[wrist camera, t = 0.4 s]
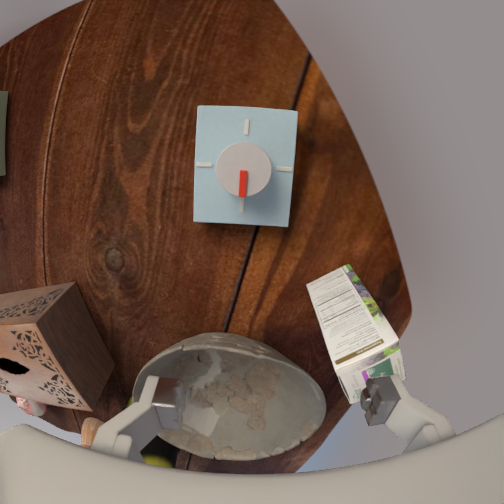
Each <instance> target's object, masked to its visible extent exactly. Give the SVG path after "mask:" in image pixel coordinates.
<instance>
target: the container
mask: <svg viewBox="0 0 504 504" xmlns="http://www.w3.org/2000/svg"><path fill="white" fill-rule="evenodd" d="M132 404H133V400H132V396H131V397H130V398H129V399H128V402H127V404H126V406H125V408H124V409H123V410H125V409H126V408H128V407H129V406H130V405H132ZM179 451H180V448H178V447H176V446H174V445H172V444H170V443H169V442H167V441H165V440H163V439H162V438H160V437H159V436H158V435H156V436H155V437H154V438H153V439H152V440H151V441H150V442H149V443H148V444H147V445H146V446H145V447H144V448H143V449H142V450H141V451H140V454H141V455H142V457H143V459H144V461H145V462H146V464H150V465H156V466H161V467H167V468H174V469H175V465H176V459H177V453H178V452H179Z"/></svg>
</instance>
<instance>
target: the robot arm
mask: <svg viewBox="0 0 504 504" xmlns="http://www.w3.org/2000/svg"><path fill="white" fill-rule="evenodd" d="M365 384H366V388H364V389H363V390H362V392H361V396H360V402H361V406H362V409H364V410H365V411H366V414H365V418H366V420H367V423H368V426H373V425H379V424H385V425H386V426H387V427H388V428H389V429H390V430H391V431H392V432H393V433H394V434H396V435H397V436H398V437H399V438H400V439H401V440H402V441H403V442H405V443H406V444H407V445H408V446H407V448H406V449H405V450H404V451H403V453H402V454H401V455H397V456H393V457H389V458H385V459H382V460H377V461H373V462H368V463H363V464H358V465H353V466H348V467H341V468H334V469H328V470H319V471H310V472H299V473H285V474H223V473H209V472H198V471H189V470H181V469H174V468H167V467H161V466H156V465H150V464H146V462H145V461H144V459H143V457H142V455H141V454H140V451H141V450H142V449H143V448H144V447H145V446H146V445H147V444H148V443H149V442H150V441H151V440H152V439H153V438H154V437H155V436H156V435H157V434H158V433H159V432H160V431H161V430H162V429H169V430H178V431H181V429H182V423H183V415H182V413H183V412H185V407H186V393H185V391H184V390H183V389H184V382H183V380H180V379H173V378H166V377H158V376H152V375H149V376H148V377H147V380H146V383H145V385H144V388H143V391H142V394H141V397H140V400H139V402H135V403H133V404H132V405H130V406H129V407H128V408H126V409H125V410H123V411H122V412H120V413H119V414H118V415H116V416H115V417H113V418H112V419H110V420H109V421H107V422H106V423H105V424H103V425H102V426H100V427H99V428H98V430H97V433H96V435H95V438H94V441H93V443H92V446H91V448H90V449H88V448H85V447H82V446H79V445H76V444H73V443H71V442H68V441H65V440H63V439H60V438H58V437H55V436H53V435H50V434H47V433H46V432H43V431H41V430H39V429H37V428H34V427H32V426H30V425H27V424H20V425H17V426H14V427H12V428H10V429H8V430H5V431H4V432H1V433H0V504H504V413H503V414H500V415H498V416H496V417H494V418H492V419H490V420H488V421H486V422H485V423H482V424H480V425H478V426H476V427H474V428H472V429H469V430H467V431H465V432H463V433H461V434H458V435H456V434H455V432H454V430H453V428H452V426H451V424H450V422H449V421H448V419H447V418H446V417H445V416H443V415H441V414H440V413H438V412H437V411H435V410H433V409H432V408H430V407H429V406H427V405H425V404H424V403H422V402H421V401H419V400H417V399H416V398H414V397H410V395H409V393H408V391H407V389H406V387H405V385H404V384H403V382H402V380H401V378H400V376H399V375H398V374H394V375H388V376H387V375H386V376H380V377H372V378H369V379H367V381H366V383H365Z"/></svg>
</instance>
